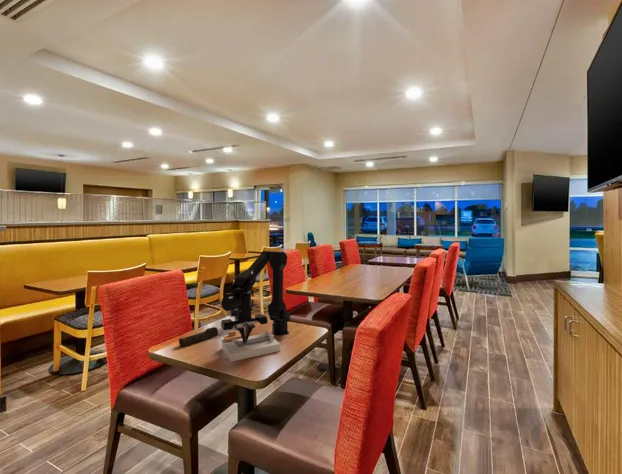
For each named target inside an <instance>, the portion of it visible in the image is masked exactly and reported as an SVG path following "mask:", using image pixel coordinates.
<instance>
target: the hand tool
mask: <svg viewBox="0 0 622 474" xmlns="http://www.w3.org/2000/svg"><path fill="white" fill-rule="evenodd" d="M217 336H219V330H218V328H217V327H215V326H213V327H208V328H206V329H205V331H202V332H198V333H195V334H193V335H189V336H185V337H182V338H178V344H179V346H180V347H181V348H183V347H187V346H188V345H190V344H194V343H196V342H200V341H203V340H205V339H206V340H207V339H208V340H210V339H212V338H213V339H214V338H215V337H217Z"/></svg>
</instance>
